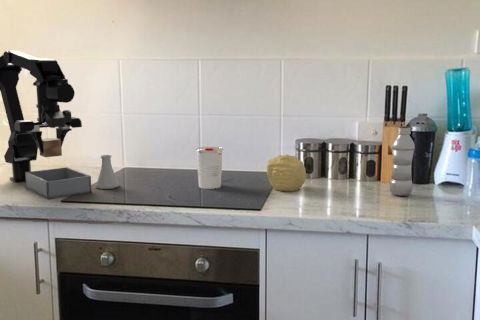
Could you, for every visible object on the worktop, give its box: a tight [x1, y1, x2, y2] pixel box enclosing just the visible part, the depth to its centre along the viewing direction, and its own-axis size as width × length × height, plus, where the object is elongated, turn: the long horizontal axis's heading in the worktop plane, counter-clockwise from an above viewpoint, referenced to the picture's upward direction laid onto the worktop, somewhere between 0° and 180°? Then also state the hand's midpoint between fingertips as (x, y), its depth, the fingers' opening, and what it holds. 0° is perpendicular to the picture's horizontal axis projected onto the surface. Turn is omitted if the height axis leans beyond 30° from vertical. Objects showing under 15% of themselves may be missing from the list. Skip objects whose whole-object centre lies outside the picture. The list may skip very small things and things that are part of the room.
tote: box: [25, 166, 93, 200], centre depth 161 cm, size 18×13×5 cm
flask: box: [95, 154, 120, 190], centre depth 165 cm, size 7×7×10 cm
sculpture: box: [266, 154, 307, 192], centre depth 162 cm, size 12×12×11 cm
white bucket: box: [195, 146, 224, 190], centre depth 165 cm, size 10×8×12 cm
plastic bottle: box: [389, 126, 415, 197], centre depth 153 cm, size 6×7×20 cm
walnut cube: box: [39, 137, 63, 158], centre depth 163 cm, size 5×5×5 cm
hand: (50, 152), depth 163 cm, fingers closed on walnut cube, 5 cm apart
